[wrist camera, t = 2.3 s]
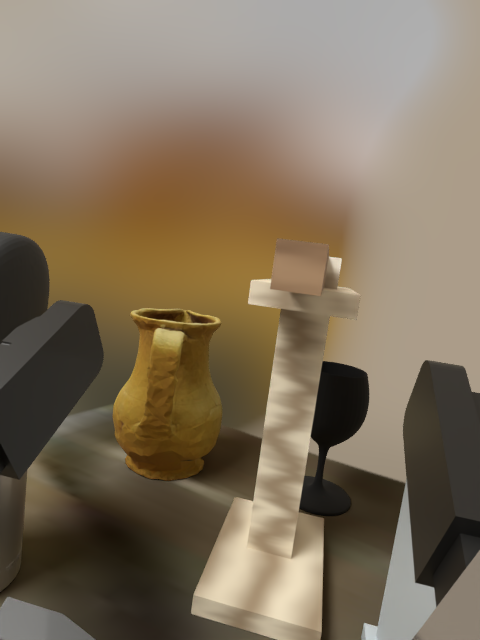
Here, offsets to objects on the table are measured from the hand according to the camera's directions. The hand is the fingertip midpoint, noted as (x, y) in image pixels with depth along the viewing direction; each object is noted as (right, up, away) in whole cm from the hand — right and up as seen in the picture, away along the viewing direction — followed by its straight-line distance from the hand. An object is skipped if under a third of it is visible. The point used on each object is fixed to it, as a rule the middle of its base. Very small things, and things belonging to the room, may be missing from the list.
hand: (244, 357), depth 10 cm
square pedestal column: (+3, -27, +37) cm, 46 cm away
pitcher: (-13, -22, +58) cm, 63 cm away
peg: (+5, +4, +25) cm, 26 cm away
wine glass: (+11, -26, +54) cm, 61 cm away
